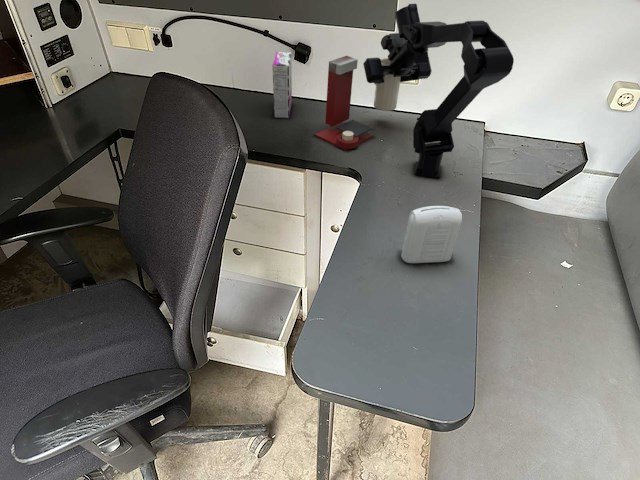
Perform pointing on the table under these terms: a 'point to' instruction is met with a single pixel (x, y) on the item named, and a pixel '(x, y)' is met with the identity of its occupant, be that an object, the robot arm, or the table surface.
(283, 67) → the candy bar box
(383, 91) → the tumbler
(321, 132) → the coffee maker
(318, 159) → the table surface
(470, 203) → the table surface
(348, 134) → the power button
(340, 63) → the coffee maker tower
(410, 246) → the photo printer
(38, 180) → the table surface
